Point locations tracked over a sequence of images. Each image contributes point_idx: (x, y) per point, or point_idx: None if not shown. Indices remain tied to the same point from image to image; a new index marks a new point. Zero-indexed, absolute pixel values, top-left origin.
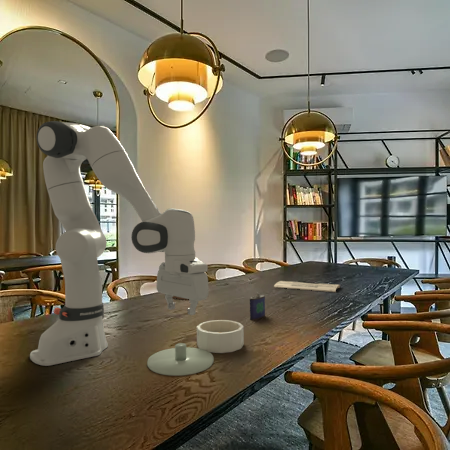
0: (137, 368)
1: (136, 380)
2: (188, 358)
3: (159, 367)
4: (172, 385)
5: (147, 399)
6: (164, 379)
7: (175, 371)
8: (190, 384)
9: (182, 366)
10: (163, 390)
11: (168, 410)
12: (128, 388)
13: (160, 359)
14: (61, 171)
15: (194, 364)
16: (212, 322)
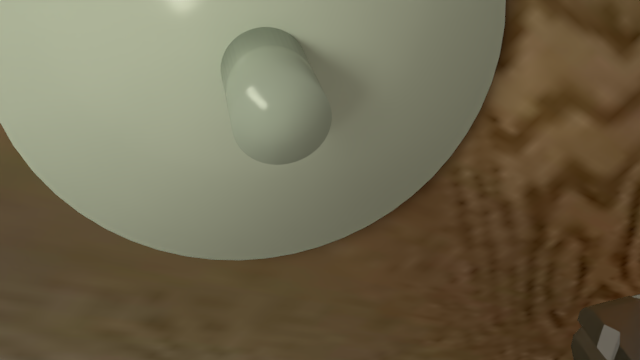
0: (199, 292)
1: (334, 318)
2: (297, 18)
3: (305, 224)
4: (496, 217)
5: (508, 316)
6: (417, 226)
7: (417, 175)
8: (557, 151)
9: (388, 116)
10: (501, 258)
11: (622, 282)
12: (379, 350)
13: (186, 184)
14: None
15: (420, 38)
16: None
